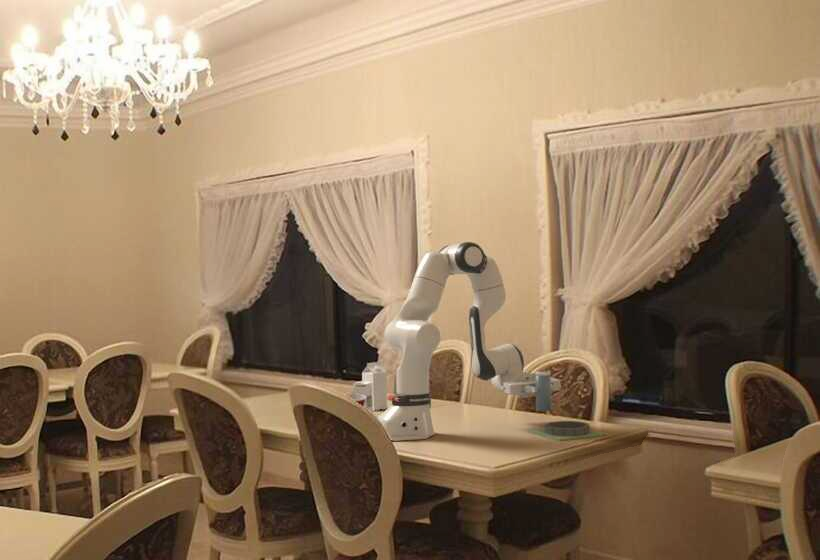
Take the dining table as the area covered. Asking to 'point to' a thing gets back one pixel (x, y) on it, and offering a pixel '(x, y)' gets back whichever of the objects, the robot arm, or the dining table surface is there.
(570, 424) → the practice green
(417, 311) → the robot arm
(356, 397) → the plastic cup
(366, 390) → the syrup box
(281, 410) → the dining table surface
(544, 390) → the ball tube
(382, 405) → the milk carton
